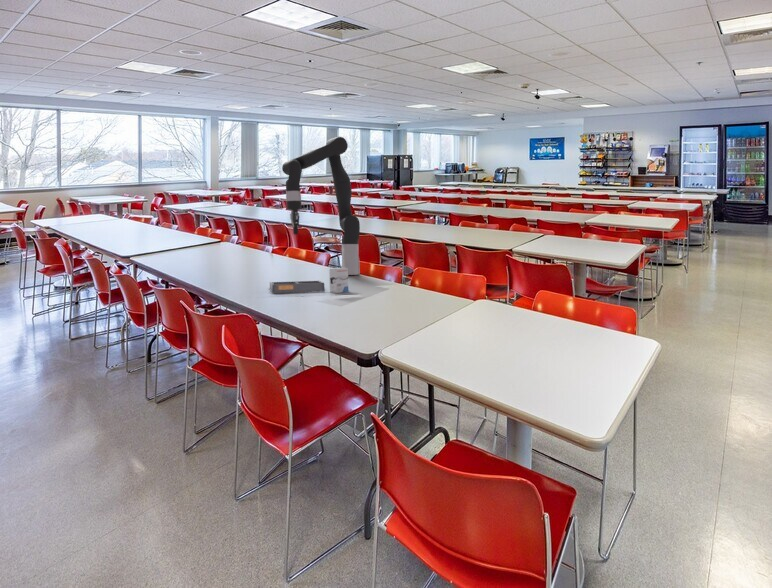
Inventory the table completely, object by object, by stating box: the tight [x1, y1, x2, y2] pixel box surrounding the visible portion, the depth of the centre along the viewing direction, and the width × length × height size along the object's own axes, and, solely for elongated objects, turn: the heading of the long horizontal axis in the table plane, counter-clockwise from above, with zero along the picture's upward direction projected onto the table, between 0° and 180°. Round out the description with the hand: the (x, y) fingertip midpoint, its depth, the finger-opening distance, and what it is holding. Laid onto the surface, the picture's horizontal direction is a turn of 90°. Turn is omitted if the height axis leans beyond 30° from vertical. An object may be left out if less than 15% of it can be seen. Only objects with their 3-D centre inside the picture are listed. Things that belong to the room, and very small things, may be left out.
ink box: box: [329, 267, 349, 294], centre depth 234 cm, size 8×5×12 cm, turn 140°
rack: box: [269, 280, 325, 295], centre depth 238 cm, size 25×14×4 cm, turn 109°
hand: (295, 234), depth 248 cm, fingers closed
